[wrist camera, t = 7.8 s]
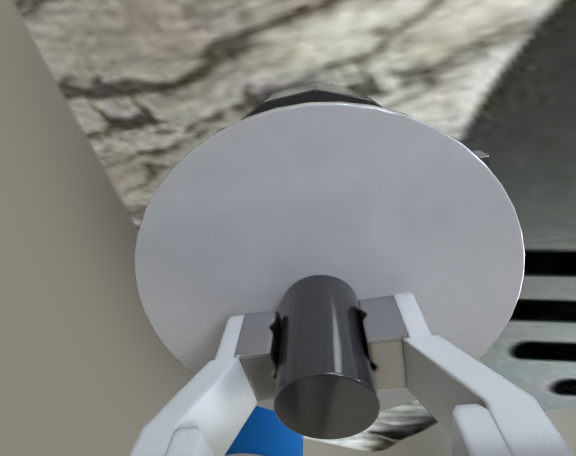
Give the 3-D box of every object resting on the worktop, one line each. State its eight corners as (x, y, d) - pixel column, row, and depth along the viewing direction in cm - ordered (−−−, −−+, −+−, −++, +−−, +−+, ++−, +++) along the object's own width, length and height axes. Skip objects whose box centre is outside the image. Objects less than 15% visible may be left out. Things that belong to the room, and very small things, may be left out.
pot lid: (82, 152, 9) (-93, 219, 5) (524, 45, 7) (790, 17, 3) (215, 403, 15) (180, 533, 11) (491, 378, 13) (577, 523, 9)
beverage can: (309, 353, 31) (309, 504, 20) (247, 359, 32) (216, 506, 21) (298, 304, 28) (292, 451, 17) (230, 311, 29) (184, 455, 18)
